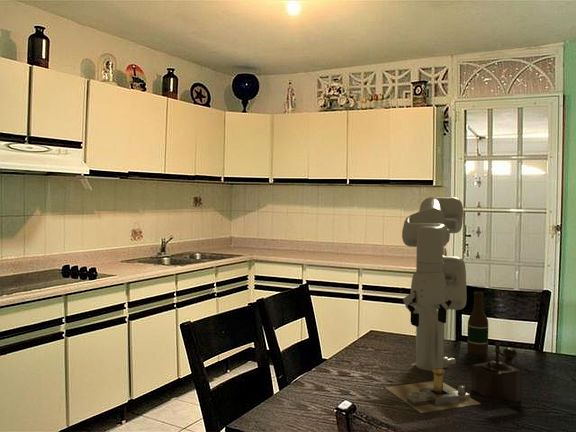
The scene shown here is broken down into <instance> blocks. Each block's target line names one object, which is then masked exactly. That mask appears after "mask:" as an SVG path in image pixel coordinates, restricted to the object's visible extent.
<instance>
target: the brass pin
mask: <svg viewBox="0 0 576 432" xmlns="http://www.w3.org/2000/svg"><path fill="white" fill-rule="evenodd" d="M432 373H433V381H434V394H436V395H443V383H444V375H445V369H444V368H443V369H441V368H433V371H432Z"/></svg>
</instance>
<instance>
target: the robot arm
mask: <svg viewBox="0 0 576 432" xmlns="http://www.w3.org/2000/svg"><path fill="white" fill-rule="evenodd" d="M463 206H464V205H463V203H462V201H461V200H460V199H459V198H458V197H455V196H450V197H449V196H444V197H443V196H440V197H439V196H430V197H426V198H425V199H423V200H422V202H421V204H420V207H419V211H417V212H414V213H412V214H410V215H408V216H407V217H406V218H405V220H404V222H403V226H402V231H401V232H402V233H401V239H402V242H403V244H404V245H405V246H407V247H411V248H416V261H415V262H416V266H415V267H416V268H415V269H416V270H415V271H413V273H412V278H411V284H410V294H408V295H406V296H405V297H403V299H402V301H403V303H404V305H405V308H406V309H407V310H408V312H410V325H411V326H414V327H415V328H416V329H415V362H414V363H412V364H411V366H415V367H416V368H418V369H419V370H422V371H429V372H433V368H441V369H444V368H447V369H448V365H454V364H455V365H456V363H457V362H456V361H457V360H456V359H455V357H454V358H453V357H450V358H449V357H447V356H445V324H447V311H448V310H449V311H450V310H451V311H452V310H453V311H460V310H463V309H464V308H465V307H466V305H467V300H468V299H467V298H468V297H467V295H468V294H467V270H466V263H465V262H464V259H463V258H461V257H460V256H454V255H445V254H444V253H445V252H444V251H445V246H446V247H447V244H448V243H449V242H450V237H451V235H450V234H458V233H460V231H461V230H462V228H463V224H464V223H463V220H464V207H463Z"/></svg>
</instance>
